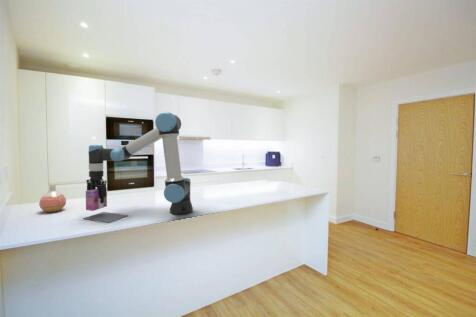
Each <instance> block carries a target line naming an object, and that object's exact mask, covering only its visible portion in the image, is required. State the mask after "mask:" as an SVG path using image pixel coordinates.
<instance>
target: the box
mask: <svg viewBox="0 0 476 317" xmlns="http://www.w3.org/2000/svg"><path fill="white" fill-rule="evenodd" d="M107 189H108V188H107V187H106V192H107V191H108V190H107ZM107 193H108V192H107ZM101 196H102V195H101ZM107 197H108V195H107V196H106V197H104V203H103V208H105V207H107V206H108V202H107V201H108V198H107ZM98 198H99V191H98V189H97V187H96V189H92V190H88V191H87V190H85V210H86V211H90V212H91V211H92V212H94V211H97V210H100V209H99V208H98Z"/></svg>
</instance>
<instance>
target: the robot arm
mask: <svg viewBox="0 0 476 317" xmlns="http://www.w3.org/2000/svg"><path fill="white" fill-rule="evenodd" d="M154 125H155V128H154V129H151V130H150V131H148V132H146V133H145V134H143V135H141V136H139V137H138V138H136V139H135V140H133V141H131V142H130V143H127V144H125V145H124V146H122V147H121V148H120V147H119V148H118V147H117V148H104V145H102V144H90V145H88V152H87V153H88V170H89V171H88V177H89V179H86V191H88V190H92V189H96V188H97V189H98V191H99V198H98V208H99V209H98V210H101V209H103V208H104V207H103V203H104V197H106V196H107V197H108V195H107V194H108V192H106V188H107V182H108V181H107V180H104V179H103V177H104V161H105V162H122V161H126V160H129V159H130V158H132V156H134V155H135V154H137V153H139V152H140V151H142V150H143V149H146V148H147V147H149V146H151V145H153V144H154V143H156V142H159V141H160V140H161V139H162V140H161V141H162V147H163V155H164V163H165V171H166V172H165V173H166V179H164V185H165V186H164V187H165V188H164V190H163V196H164V198H165V200H166V201H167V202H169V203H171V205H170V206H169V207H170V208H169V213H170V214H171V215H177V216H181V215H182V216H183V215H189V214H191V213H193V212H194V209H193V208H194V207H193V204H192V200H191V178H189V177H188V178H187V177H183V176H182V169H181V161H180V160H181V159H180V153H179V143H178V137H179V135H180V129H181V127H182V121H181V118H179V117H178V115H176V114H174V113H172V112H170V111H162V112H160V113H159V114H157V116H156V117H155V121H154ZM101 195H102V196H101Z"/></svg>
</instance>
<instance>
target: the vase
mask: <svg viewBox="0 0 476 317" xmlns="http://www.w3.org/2000/svg"><path fill="white" fill-rule="evenodd" d="M48 188H49V190H48V192H47V193H45V194H43V196H42V197H41V198H40V199H39V207H40V210H42V211H43V212H46V213H56V212H60V211H61V210H62V209H63V208H64V207H65V206H66V204H67V199H66V196H64V194H62V193H61V192H59V191H57V190H56V188H57V187H56V184H49V187H48Z"/></svg>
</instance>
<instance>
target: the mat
mask: <svg viewBox="0 0 476 317" xmlns="http://www.w3.org/2000/svg"><path fill="white" fill-rule="evenodd" d="M128 216H129V215H128V214H123V213H116V212H115V213H114V212H107V211H102V212H99V213H95V214H92V215H89V216H85V217H83V218H82V220H85V221H92V222H93V221H94V222H99V223H105V224H111V223H113V222H117V221H119V220H121V219H124V218H127V217H128Z"/></svg>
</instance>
